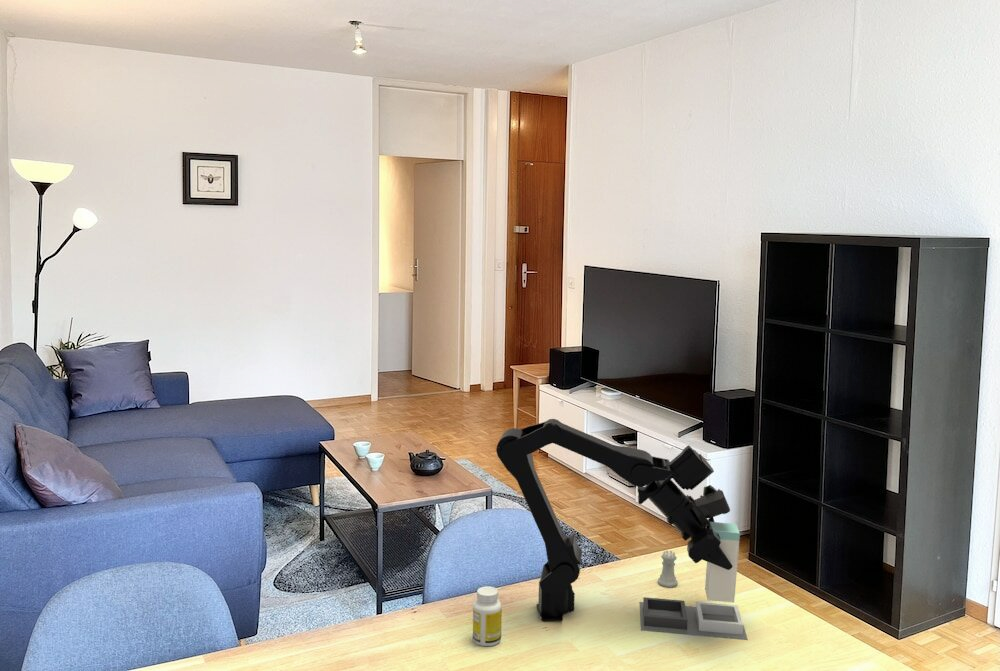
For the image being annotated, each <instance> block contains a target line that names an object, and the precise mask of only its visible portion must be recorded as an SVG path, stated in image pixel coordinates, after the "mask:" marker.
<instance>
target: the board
mask: <svg viewBox="0 0 1000 671" xmlns="http://www.w3.org/2000/svg"><path fill="white" fill-rule="evenodd" d="M642 599H643V601H640V602H639V619H640V621H639V622H640V623H639V625H640V626H639V627H640V631H642V632H643V631H644V632H652V633H653V632H654V633H665V634H675V635H676V634H677V635H687V636H698V637H699V636H700V637H709V638H717V639H718V638H720V639H729V640H730V639H731V640H732V639H733V640H742V641H748V640H749V639H748V636H747V633H746V629H745V626H744V623H743V619H742V615H741V613H740V610H739V606H738V605H737V604H726V603H717V602H716V603H715V602H703V601H702V602H701V601H695V606H690V605H686V603H685V600H683V599H682V600H680V599H679V600H678V599H671V598H669V599H668V598H658V597H644V596H643V598H642Z"/></svg>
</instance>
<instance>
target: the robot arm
mask: <svg viewBox="0 0 1000 671" xmlns="http://www.w3.org/2000/svg"><path fill="white" fill-rule="evenodd" d="M551 444H555V445H557V446H559V447H562V448H564V449H566V450H568V451H571V452H573V453H575V454H578V455H581V456H582V457H584V458H587V459H590V460H592V461H594V462H597V463H598V464H601V465H604V466H605V467H607V468H609V470H612V471H613V472H614V473H615V474H616V475H617V476H619V477H620V478H621V479H623V480H624V481H626V482H628V483H629V484H631V485H633V486H634V487H637V493H638V496H637V503H638V504H639V505H642V504H643V503H644V502H646V501H647V500H649V501H650V502H651V503H652V504H653V505H654V506H655V507H656V508H657V509H658V510H659V511H660V512H661V513H662V515H664V517H665V518H666V521H667V523H668V524H669V525H670V526H672V525H673V526H674V527H675V528H676V529H677V531H678V532H680V536H681V538H682V539H683V540H684V541H685V542H686V541H687V540H688V541H687V543H686V544H687V546H686V551H687V554H688V557H689V558H690V559H691V560H692V561H693V563H695V564H698V563H700V562H701V561H705V562H706V563H707V562H710V563H712V564H715V565H717V566H720V567H722V568H725V569H727V570H730V569H731V568H732V567H733V566H732V564H731V563H730V561H729V560H728V558H727V557H726V555H725V554H724V552H723V551H722V549H721V548H720V546H719V545H720V543H721V541H720V536H719V534H716V532H715V531H714V530H713V529H709V528H710V522H716V521H715V519H714V518H715V517H717V516H720V515H726V514H728V513H730V512H731V509H730V508H731V507H730V505H729V503H728V501H727V498H726V496H725V494H724V492H723V489H722V490H721V489H720V488H718V489H716V488H715V487H714V486H712V485H711V484H709V485H706V486H704V487H703V491H702V492H703V494H702V495H701V494H700V495H699V497H698V498H696V499H694V498H693V496H691V495H689V494H685V493H684V492H683V491H682V489H683V490H686V491H688V490H691V491H692V490H694V489H695V488H696V487H697V486H699V485H700V484H701V483H702V482H703V481H705V480H706V479H707V478H709V477H710V476H711V475H712V474H713V473H714V472H715V471H714V468H713V467H712V465H710V463H709V462H708V461H707V460H706V458H705V457H704V456H703V455H702V454H701V453H698V451H696V450H695V449H694V448H692V446H690V445H687V446H686V447H684V448H683V449H682V451H681V452H680V453H679V454H677V455H676V456H675V457H674V458H673V459H672V460H671V461H670V459H667V458H663V457H656V456H652V454H651V453H649V452H648V451H645V450H643V449H639V448H636V447H635V448H634V447H630V446H621V445H616V444H612V443H609V442H608V441H605V440H602V439H601V438H598V437H596V436H593V435H591V434H589V433H586V432H584V431H582V430H580V429H576V428H574V427H572V426H569V425H567V424H565V423H562V422H561V421H560V420H559V419H555V418H550V419H547V420H546V421H543V422H540V423H534V424H532V425H527V426H524V427H523V428H521V429H519V428H515V427H513V428H509V429H507V430H505V431H504V432H503V434H502V435H501V437H500V439H499V440H498V443H497V446H496V449H495V450H496V454H497V455H496V456H497V457H498V459H499V460H500V462H501V464H503V466H504V468H505V469H506V471H507V472H509V474H510V475H511V476H512V477H513V478H514V479H515V480H516V481H517V482H516V483H517V485H518V487H519V489H520V490H521V493H522V495H523V497H524V498H523V499H524V500H525V502H526V504H527V507H528V509H529V511H530V513H531V515H532V517H533V519H534V523H535V524H536V527H537V528H538V531H539V533H540V536H541V537H542V540H543V542H544V546H545V552H546V558H547V561H546V562H545V563H544V564H543V566H542V570H541V575H540V579H539V581H538V601H537V602H538V603H536V605H535V606H536V609H537V611H538V614H539V617H540V620H541V621H543V622H544V621H545V622H546V621H547V622H548V621H549V622H550V621H563V618H564V615H566V614H567V613H571V612H574V611H575V597H576V596H575V594H576V593H575V592H574V589H573V586H572V584H573V583H575V582H576V581H577V580H578V579H579V577H580V573H581V564H582V557H583V550H582V549H581V548H580V546H579V545H578V541H577V539H576V536H575V534H572V535H571V536H568V535H567V534H566V533H565V532H564V530H563V529H562V527H561V524H560V522H559V520H558V518H557V516H556V514H555V510H554V509H553V506H552V503H551V502H550V500H549V498H548V495H547V493H546V491H545V489H544V487H543V485H542V482H541V479H540V478H539V476H538V472H537V470H536V468H535V464H534V456H533V453H534V452H536V451H538V450H540V449H542V448H544V447H546V446H549V445H551ZM672 479H673V480H674V481H675V482H674V481H673V480H672ZM678 486H679V487H678ZM689 539H690V540H689Z"/></svg>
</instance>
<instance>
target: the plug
mask: <svg viewBox="0 0 1000 671" xmlns="http://www.w3.org/2000/svg"><path fill="white" fill-rule="evenodd" d="M709 529H713V530H714V531H715V532H716V534H719V536H720V541H721V543H720V545H719V546H720V548H721V549H722V551H723V552H724V554H725V555H726V557H727V558H728V560H729V561H730V563H731V564H732V566H733V567H732V568H731V569H730V570H727V569H725V568H722V567H720V566H717V565H715V564H712V563H710V562H707V561H706V567H705V568H706V569H705V581H704V582H705V583H704V591H705V594H706V598H707V601H712V602H723V603H724V602H725V603H731V604H733V603H734V604H735V598H736V587H737V585H736V584H737V574H738V561H739V547H740V539H741V533H740V530H739V527H738V525H737V523H727V522H716V521H715V522H710V528H709Z"/></svg>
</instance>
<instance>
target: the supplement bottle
mask: <svg viewBox="0 0 1000 671" xmlns="http://www.w3.org/2000/svg"><path fill="white" fill-rule="evenodd" d="M476 598H477V599H476V600H475V601H473V605H472V606H473V607H472V640H473V642H474V643H475V644H476V645H479V646H483V647H493V646H495V645H498V644H499V643H501V640H502V616H503V614H502V613H503V611H502V607H503V606H502V603H501V601H500V600H499V589H498V588H496V587H494V586H482V587H481V586H480V587H479V588H478V589H477V591H476Z"/></svg>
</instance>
